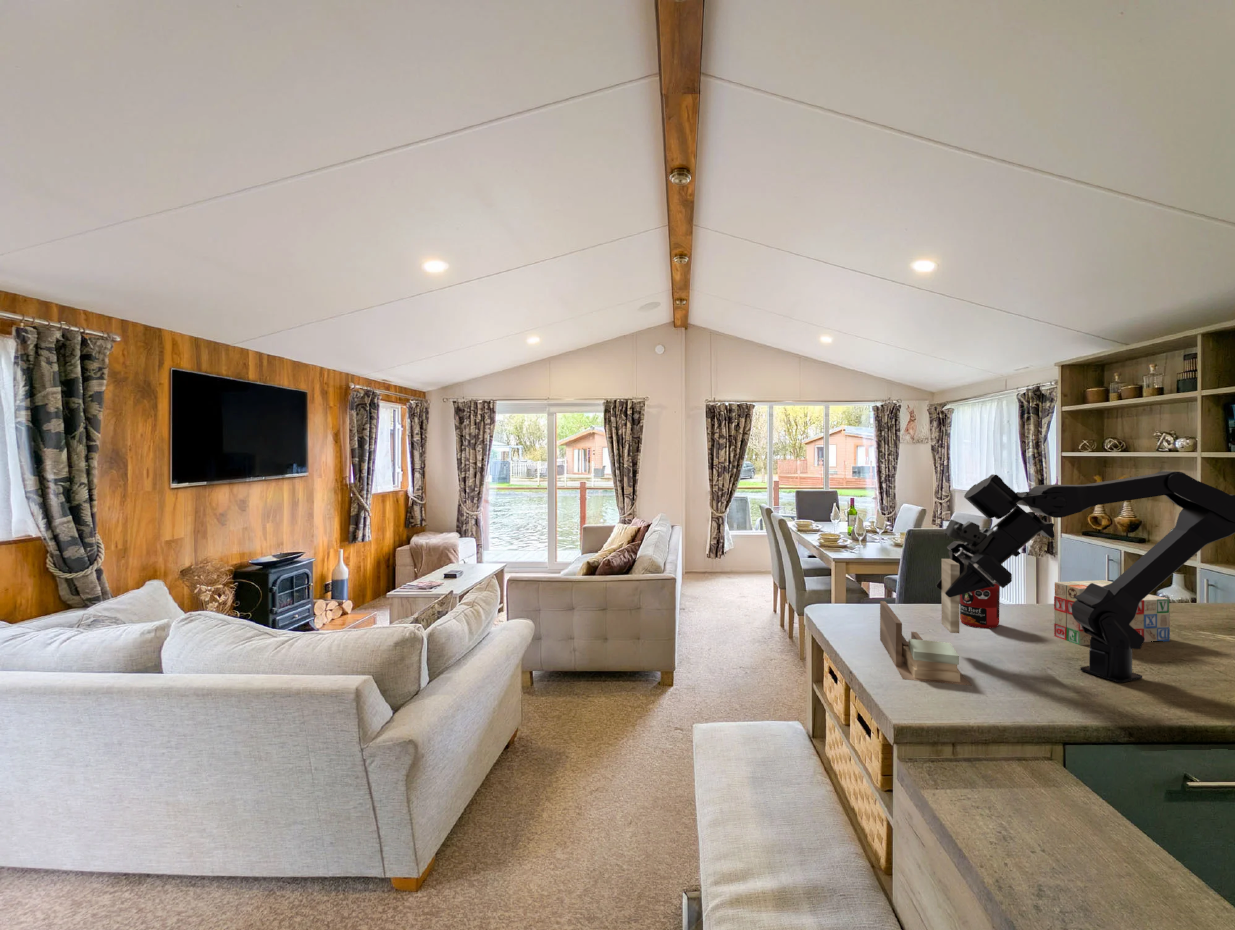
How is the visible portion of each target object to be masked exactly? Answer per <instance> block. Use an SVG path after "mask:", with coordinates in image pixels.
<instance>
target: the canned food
mask: <svg viewBox="0 0 1235 930" xmlns="http://www.w3.org/2000/svg"><path fill="white" fill-rule="evenodd" d="M995 582H996V581H995V580H994V581H993V582H992V583H993V584H994V585H995V587H989V588H984V589H980V590H976V591H972V592H968V593H965V594H961V595H959V621H960V622H961V623H962V624H963V625H965V624H966V625H965V626H968V625H969V627H972V626H973V628H977V627H980V628H979V629H996V628H997V627H999V625H1000V597H1001V596H1000V595H1001V594H1000V591H1001V590H1000V589H1001V588H1000V586H998V585H997V584H996V583H995Z"/></svg>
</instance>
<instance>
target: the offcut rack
mask: <svg viewBox="0 0 1235 930" xmlns="http://www.w3.org/2000/svg"><path fill="white" fill-rule="evenodd" d="M879 607H880V608H879V611H880V613H879V614H880V616H879V640H880V642H881V643H882V646H883V647H884V649H885V650H886V652H887V654H888V656H889V658H890V660H891V661H892V663H893V665H894V666H895V668H896V669H897V671H898V674H899V675H900V677H901V678H902V680H906V681H915V682H917V681H919V682H930V683H938V684H939V683H940V684H950V685H951V684H952V685H961V686H962V685H963V686H970V687H971V686H972V683H971V682H970V681H969V680H968V679H967V677H965V676H964V674H963V673H962V672H961V671H960V670H959V668H957V670H958V671H959V673H960V682H953V681H942V680H931V679H920V678H914V676H913V675H912V673H911V672H910V670H909V669H908V667H907V665H906V664H905V662H904V655H903V654H902V652H903V646H907V647H909V640H908V641H907V639H906V638H905V637H904V635H903V622H902V621H901V620H900V619H899V618H898V616H897V615H896V613H895V612H894V611H893V610H892V608H891V607H890V606H889V604H888V603H887V602H886V601H882V600H881V601H880V602H879ZM910 633H911V634H910V635H911V636H910V637H911V638H910V639H916V640H924V639H923V638H922V636H921V635H920V634H919V633H918V632H917V631H911V632H910Z"/></svg>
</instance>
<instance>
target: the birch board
mask: <svg viewBox="0 0 1235 930" xmlns="http://www.w3.org/2000/svg"><path fill="white" fill-rule="evenodd" d="M959 576H960V564H958V563H956V562H955V561H953V560H951V559H950V558H941V577H942V590H941V621H940V622H941V625H942V626H943V627H944V628H945V629H946V630H947V631H948V632H949V633H951V634H960V595H957V596H954V597H948V596H947V595H946V594H945V592H946V591H947V590H948V588H949V587H950V586H951V585H952V584H953V583H954V581H955V580H956V579H957V578H958V577H959Z"/></svg>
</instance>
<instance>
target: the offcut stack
mask: <svg viewBox="0 0 1235 930" xmlns="http://www.w3.org/2000/svg"><path fill="white" fill-rule="evenodd" d="M908 641H909V647H907V646H903V652H902V654H903V655H904V662H905V664H906V665H907V667H908V669H909V670H910V672H911V673H912V675H913V676H914V678H920V679H931V680H942V681H953V682H960V673H959V671H960V670H959V669H958V666H959V665H960V655H959V654H958V652H957V651H956V649H955V648H954V646H953V644H952V643H951V642H944V641H938V640H937V641H935V640H924V639H923V640H916V639H911V638H908ZM957 669H958V670H959V671H958V670H957Z"/></svg>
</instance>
